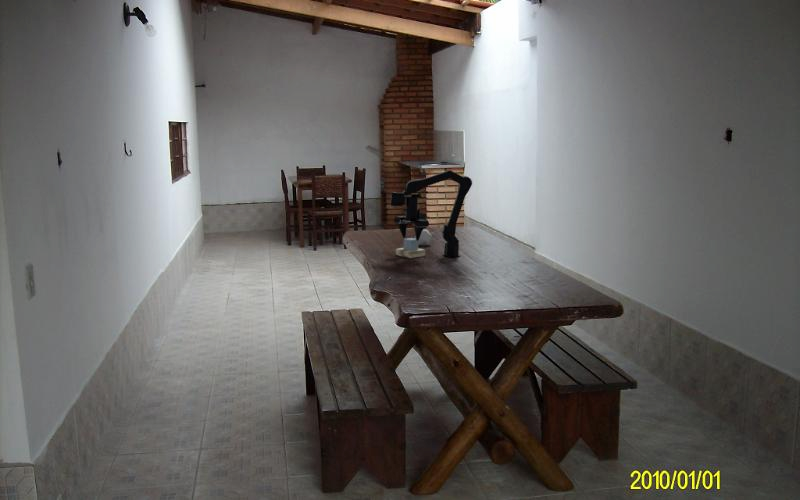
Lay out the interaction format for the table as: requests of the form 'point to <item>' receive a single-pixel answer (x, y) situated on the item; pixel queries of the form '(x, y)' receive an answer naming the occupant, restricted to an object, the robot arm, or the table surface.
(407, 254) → the maple base
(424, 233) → the die
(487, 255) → the table surface
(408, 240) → the slate block
